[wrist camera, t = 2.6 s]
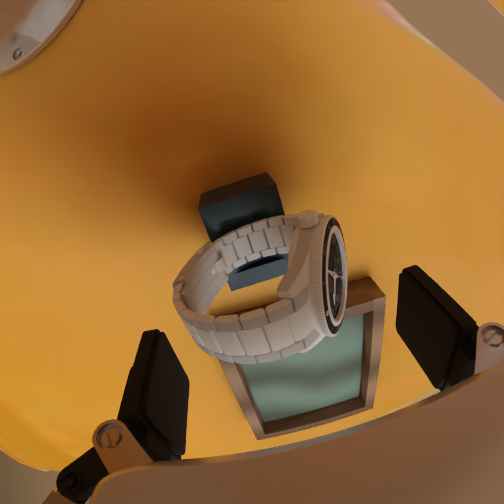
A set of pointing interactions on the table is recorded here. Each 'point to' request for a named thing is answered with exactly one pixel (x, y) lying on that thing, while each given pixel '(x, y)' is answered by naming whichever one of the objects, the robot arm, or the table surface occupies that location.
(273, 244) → the watch
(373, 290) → the watch tray
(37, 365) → the table surface
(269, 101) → the table surface
